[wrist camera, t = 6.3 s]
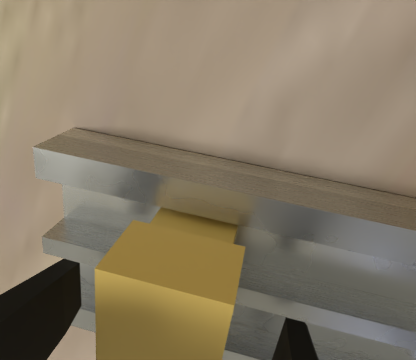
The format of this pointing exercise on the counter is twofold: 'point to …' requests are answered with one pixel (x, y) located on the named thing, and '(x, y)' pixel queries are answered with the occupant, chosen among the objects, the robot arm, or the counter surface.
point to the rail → (250, 241)
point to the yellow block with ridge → (168, 289)
